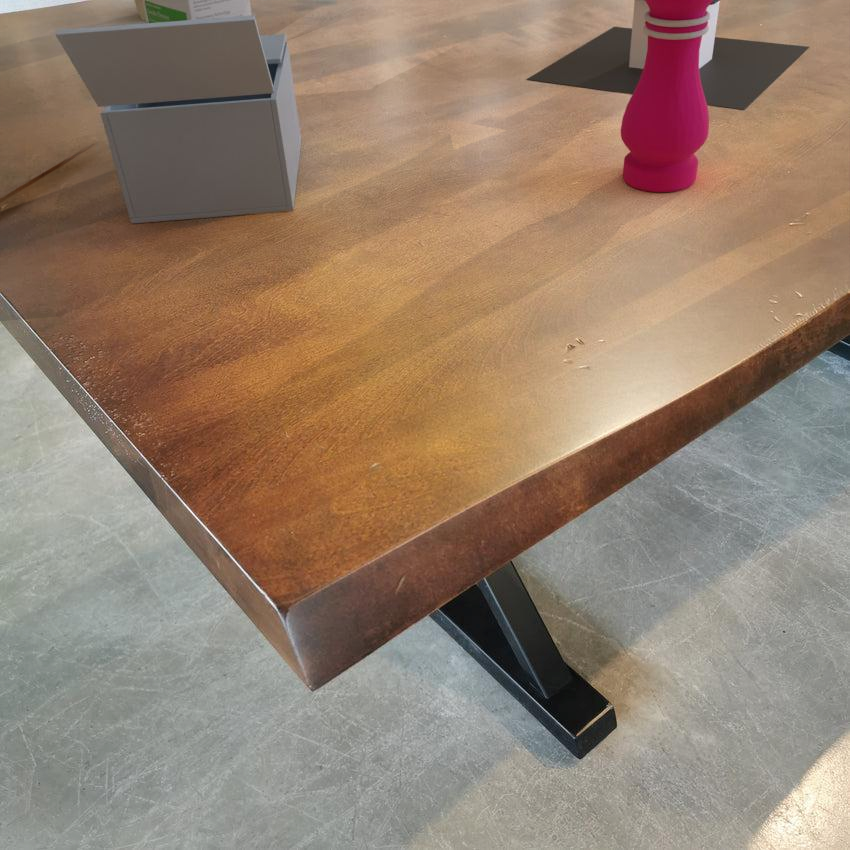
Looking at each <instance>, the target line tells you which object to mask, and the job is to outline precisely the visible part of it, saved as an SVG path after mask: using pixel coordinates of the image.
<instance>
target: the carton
mask: <svg viewBox="0 0 850 850" xmlns="http://www.w3.org/2000/svg"><path fill="white" fill-rule="evenodd" d="M259 35H260V34H259ZM260 38H261V42H262V46H263V50H264V53H265V57H266V61H267V65H268V68H269V72H270V76H271V80H272V83H273V87H274V93H270V94H257V95H244V96H231V97H218V98H205V99H192V100H179V101H166V102H154V103H141V104H128V105H115V106H103V109H102V110H101V112H100V117H101V118H100V119H101V121H102V124H103V128H104V132H105V135H106V139H107V143H108V145H109V150H110V154H111V157H112V161H113V163H114V167H115V171H116V175H117V178H118V182H119V185H120V189H121V193H122V196H123V200H124V204H125V207H126V211H127V214H128V218H129V221H130V224H145V223H159V222H168V221H169V222H171V221H181V220H182V221H183V220H195V219H196V220H197V219H205V218H206V219H208V218H219V217H220V218H221V217H230V216H231V217H233V216H243V215H244V216H245V215H257V214H269V213H270V214H271V213H281V212H294V209H295V200H296V191H297V184H298V183H297V182H298V173H299V164H300V158H301V147H302V135H301V127H300V120H299V114H298V107H297V100H296V99H297V98H296V93H295V84H294V77H293V72H292V64H291V56H290V50H289V42H288V41H286V40H287V34H286V33H276V34H275V33H274V34H262V35H260Z"/></svg>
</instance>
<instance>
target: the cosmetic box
mask: <svg viewBox="0 0 850 850" xmlns="http://www.w3.org/2000/svg"><path fill="white" fill-rule="evenodd" d="M142 1H143V6H144V10H145V15H146V20H147V21H146V20H145V21H146V23H158V22H172V21H185V20H198V19H211V18H225V17H238V16H251V15H253V14H252V8H251V6H252V5H251V1H250V0H142Z"/></svg>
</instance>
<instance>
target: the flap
mask: <svg viewBox="0 0 850 850" xmlns="http://www.w3.org/2000/svg"><path fill="white" fill-rule="evenodd" d="M55 37H56V38H57V40H58V42H59V43H60V45H61V46H62V49H63V51H64V52H65V53H66V55H67V57H68V58H69V61H70V62H71V64H72V65H73V66H74V69H75V70H76V72H77V74H78V76H79V77H80V78H81V80H82V82H83V84H84V85H85V87H86V89H87V90H88V92H89V94H90V96H91V97H92V99H93V100H94V102H95V104H96V105H97V107H99V108H101V107H105V106H115V105H128V104H141V103H154V102H166V101H179V100H192V99H205V98H218V97H231V96H244V95H257V94H270V93H274V87H273V83H272V80H271V76H270V72H269V68H268V65H267V61H266V57H265V53H264V50H263V46H262V42H261V38H260V31H259V28H258V23H257V20H256V15H254V14H252V15H251V16H238V17H225V18H211V19H198V20H185V21H172V22H158V23H147V22H146V23H145V22H144V23H133V24H121V25H120V24H119V25H106V26H93V27H92V26H91V27H80V28H67V29H55Z"/></svg>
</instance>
